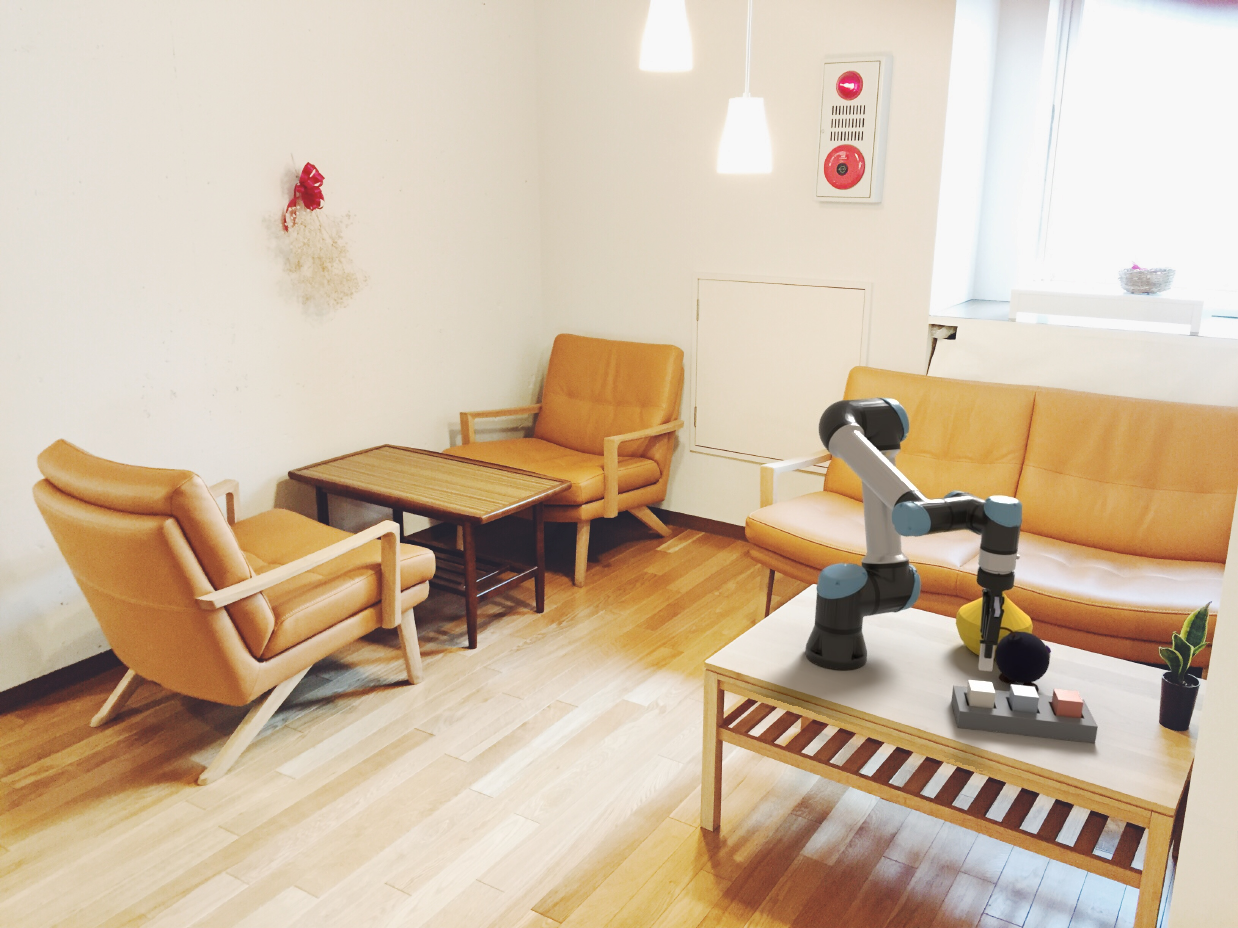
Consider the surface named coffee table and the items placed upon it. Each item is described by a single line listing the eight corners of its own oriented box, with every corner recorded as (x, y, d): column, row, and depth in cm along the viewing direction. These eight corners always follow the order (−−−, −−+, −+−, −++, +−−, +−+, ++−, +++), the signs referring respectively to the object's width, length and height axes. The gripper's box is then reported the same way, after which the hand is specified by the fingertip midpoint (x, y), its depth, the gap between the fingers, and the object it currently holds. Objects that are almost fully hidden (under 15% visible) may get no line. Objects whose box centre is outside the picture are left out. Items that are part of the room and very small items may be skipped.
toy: (1056, 693, 230) (1065, 634, 226) (1007, 700, 226) (1015, 640, 222) (1022, 669, 241) (1030, 613, 237) (975, 676, 238) (982, 619, 234)
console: (957, 727, 214) (959, 710, 213) (951, 700, 226) (953, 685, 225) (1095, 743, 209) (1097, 726, 208) (1081, 715, 220) (1083, 699, 219)
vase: (1035, 646, 254) (1044, 577, 249) (1020, 673, 239) (1030, 601, 234) (962, 629, 264) (970, 563, 259) (944, 654, 249) (952, 584, 244)
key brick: (1056, 715, 213) (1058, 699, 212) (1051, 704, 217) (1053, 688, 216) (1080, 718, 212) (1083, 702, 211) (1075, 707, 216) (1077, 691, 215)
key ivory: (969, 706, 216) (971, 690, 215) (966, 695, 221) (968, 679, 220) (993, 708, 215) (995, 692, 214) (989, 697, 220) (991, 682, 219)
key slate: (1012, 710, 214) (1014, 694, 213) (1008, 699, 219) (1010, 684, 218) (1036, 713, 213) (1039, 697, 212) (1032, 702, 218) (1034, 686, 217)
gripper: (1020, 580, 203) (1008, 684, 209) (1009, 559, 215) (998, 658, 221) (982, 577, 204) (971, 680, 210) (973, 556, 217) (963, 654, 222)
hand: (985, 668), depth 216 cm, fingers closed
